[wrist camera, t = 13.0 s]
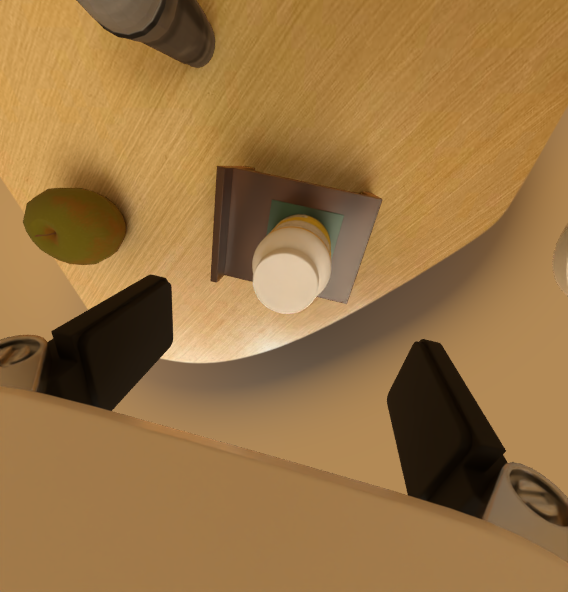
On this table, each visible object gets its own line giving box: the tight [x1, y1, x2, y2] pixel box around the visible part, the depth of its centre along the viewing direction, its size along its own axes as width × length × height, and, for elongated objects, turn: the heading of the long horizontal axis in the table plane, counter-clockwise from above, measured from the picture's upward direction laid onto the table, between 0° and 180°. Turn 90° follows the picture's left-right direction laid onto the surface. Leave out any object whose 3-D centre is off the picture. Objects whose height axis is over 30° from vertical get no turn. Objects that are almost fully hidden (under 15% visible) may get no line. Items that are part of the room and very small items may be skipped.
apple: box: [23, 188, 126, 265], centre depth 34 cm, size 10×10×11 cm
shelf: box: [211, 166, 382, 304], centre depth 31 cm, size 16×12×10 cm
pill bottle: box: [252, 214, 331, 314], centre depth 23 cm, size 6×6×12 cm
